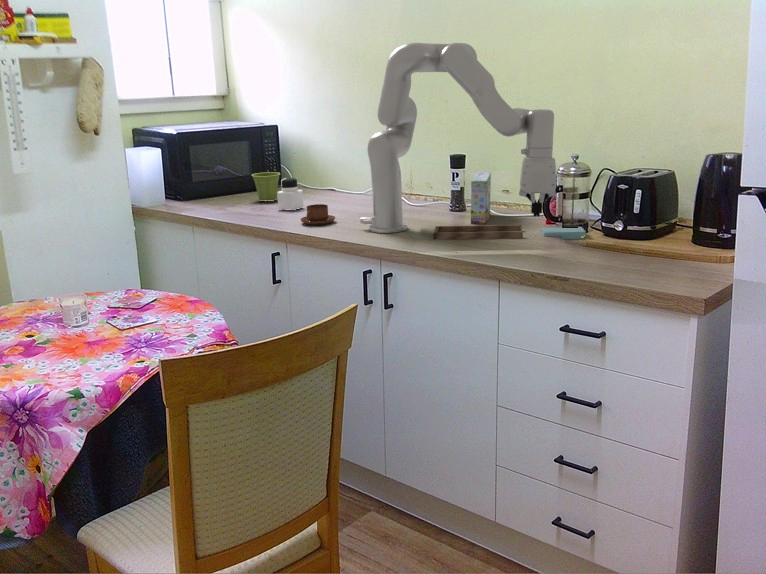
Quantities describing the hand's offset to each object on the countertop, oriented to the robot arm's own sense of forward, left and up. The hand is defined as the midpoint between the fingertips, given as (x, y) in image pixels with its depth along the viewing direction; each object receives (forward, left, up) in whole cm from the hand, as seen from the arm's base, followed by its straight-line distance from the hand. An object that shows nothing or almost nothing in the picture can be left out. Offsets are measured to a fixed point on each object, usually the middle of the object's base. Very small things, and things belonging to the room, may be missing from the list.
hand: (536, 215), depth 221 cm
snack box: (-16, +27, -7) cm, 32 cm away
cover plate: (+8, 0, -7) cm, 11 cm away
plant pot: (-104, +78, -7) cm, 130 cm away
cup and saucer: (-73, +28, -7) cm, 78 cm away
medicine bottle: (-89, +57, -7) cm, 106 cm away
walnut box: (-17, 0, -7) cm, 18 cm away
